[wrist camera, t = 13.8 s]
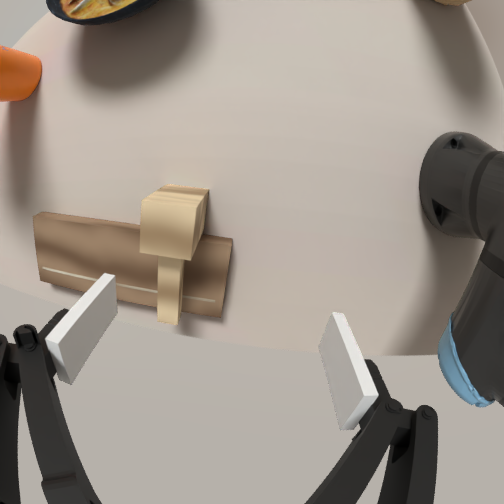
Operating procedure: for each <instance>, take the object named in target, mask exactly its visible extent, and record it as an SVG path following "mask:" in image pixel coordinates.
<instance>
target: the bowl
mask: <svg viewBox="0 0 504 504" xmlns="http://www.w3.org/2000/svg"><path fill="white" fill-rule="evenodd" d="M157 1H159V0H46V3H47V6H48V8H49V10H50V11H51V13H52V14H54V15H55V16H56V17H58V18H60V19H62V20H64V21H68V22H72V23H75V24H80V25H100V24H105V23H112V22H116V21H119V20H122V19H125V18H128V17H131V16H133V15H135V14H137V13H139V12H141V11H143V10H145V9H147V8H149V7H150V6H152V5H153V4H155V3H156V2H157Z"/></svg>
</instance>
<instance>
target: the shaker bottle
mask: <svg viewBox="0 0 504 504" xmlns="http://www.w3.org/2000/svg"><path fill="white" fill-rule="evenodd" d="M41 72H42V66H41V61H40V60H39V58H38V57H36V56H33V55H30V54H27V53H24V52H21V51H18V50H15V49H11V48H8V47H4V46H1V45H0V102H5V101H21V100H24V99H26V98H27V97H29V96H30V95H31V94H32V92H33V91H34V90H35V88H36V86H37V85H38V82H39V80H40V77H41Z"/></svg>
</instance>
